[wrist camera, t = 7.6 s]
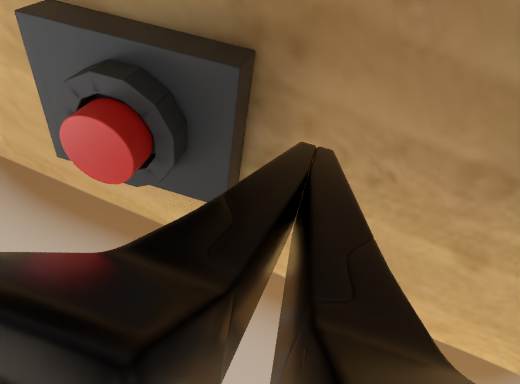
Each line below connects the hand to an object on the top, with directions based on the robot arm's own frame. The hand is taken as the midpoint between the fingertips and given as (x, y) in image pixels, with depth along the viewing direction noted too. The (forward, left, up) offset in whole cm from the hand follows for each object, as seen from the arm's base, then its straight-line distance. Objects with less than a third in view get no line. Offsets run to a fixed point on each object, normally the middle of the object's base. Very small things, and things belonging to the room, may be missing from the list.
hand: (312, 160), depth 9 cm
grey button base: (+9, +10, -12) cm, 18 cm away
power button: (+9, +10, -8) cm, 16 cm away
